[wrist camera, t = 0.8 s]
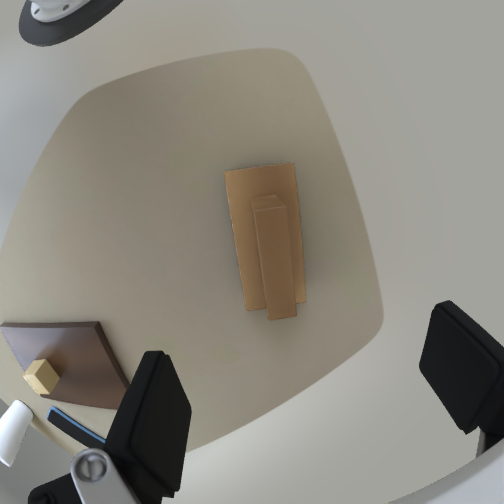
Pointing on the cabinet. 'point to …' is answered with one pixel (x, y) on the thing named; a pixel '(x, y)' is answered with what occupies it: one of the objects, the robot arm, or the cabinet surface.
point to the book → (71, 360)
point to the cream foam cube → (41, 376)
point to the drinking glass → (13, 430)
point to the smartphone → (74, 429)
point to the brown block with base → (268, 237)
